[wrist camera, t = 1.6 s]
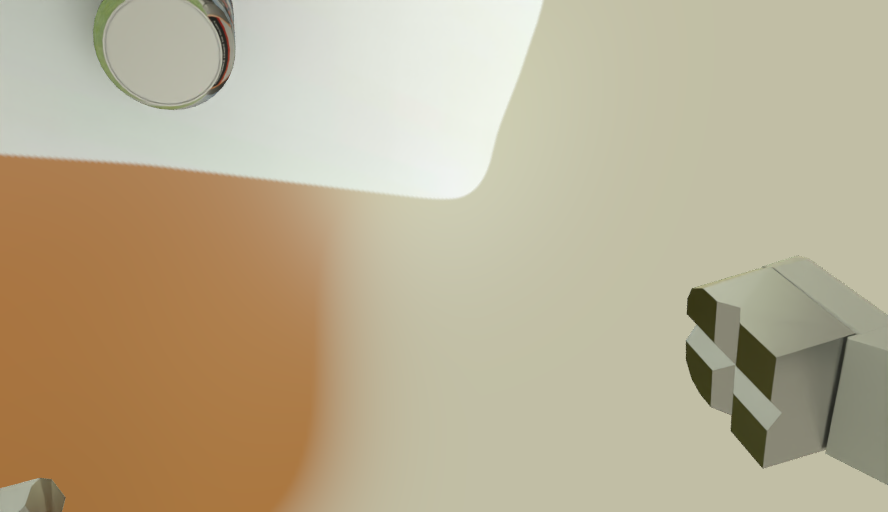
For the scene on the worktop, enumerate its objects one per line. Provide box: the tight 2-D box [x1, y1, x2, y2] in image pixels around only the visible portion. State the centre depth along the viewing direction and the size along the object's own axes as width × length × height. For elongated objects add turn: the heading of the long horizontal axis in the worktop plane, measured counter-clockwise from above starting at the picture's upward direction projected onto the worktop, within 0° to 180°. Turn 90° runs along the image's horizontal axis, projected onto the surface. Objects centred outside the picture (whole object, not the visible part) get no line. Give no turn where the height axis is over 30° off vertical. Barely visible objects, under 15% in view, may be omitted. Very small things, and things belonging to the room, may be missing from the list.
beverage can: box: [93, 0, 235, 110], centre depth 35 cm, size 6×7×12 cm
